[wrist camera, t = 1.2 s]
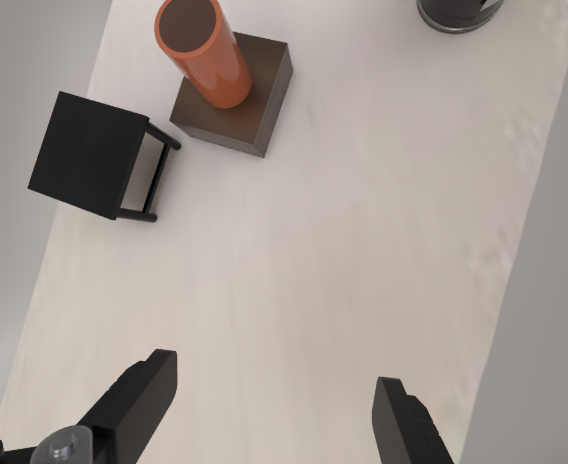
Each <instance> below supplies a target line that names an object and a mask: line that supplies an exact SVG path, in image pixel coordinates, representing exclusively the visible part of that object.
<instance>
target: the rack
mask: <svg viewBox="0 0 568 464" xmlns="http://www.w3.org/2000/svg"><path fill="white" fill-rule="evenodd" d="M149 119H150V118H149V117H147V116H145V115H141V114H138V113H134V112H131V111H127V110H124V109H120V108H117V107H113V106H110V105H107V104H103V103H100V102H96V101H93V100H89V99H86V98H82V97H79V96H75V95H72V94H68V93H65V92H62V91H59V94H58V97H57V100H56V103H55V106H54V109H53V112H52V115H51V118H50V121H49V124H48V127H47V130H46V133H45V136H44V139H43V142H42V145H41V149H40V152H39V154H38V157H37V160H36V163H35V166H34V169H33V172H32V176H31V179H30V182H29V185H28V189H30V190H33V191H36V192H38V193H41V194H44V195H46V196H49V197H52V198H54V199H57V200H60V201H62V202H65V203H68V204H70V205H73V206H76V207H78V208H81V209H84V210H86V211H89V212H92V213H94V214H97V215H100V216H102V217H105V218H108V219H110V220H116V218H124V219H131V220H139V221H146V222H155V221H156V220H157V216H156V215H155V214H152V213H149V210H150V207H151V204H152V201H153V198H154V195H155V192H156V189H157V186H158V183H159V180H160V177H161V174H162V171H163V168H164V165H165V162H166V159H167V156H168V153H169V150H170V147H171V148H172V149H174V150H179V149H180V148H181V144H180V143H179V142H178V141H176V140H175V139H174V138H172V137H171V136H169V135H168V134H166V133H165V132H163V131H162V130H160V129H159V128H157V127H156V126H154V125H153V124H151V123H150V122H149ZM145 132H146V133H148V134H150V135H151V136H153V137H154V138H156V139H158V140H159V141H161V142H163V143H164V147H163V150H162V153H161V156H160V159H159V162H158V165H157V168H156V171H155V174H154V177H153V180H152V183H151V186H150V189H149V192H148V195H147V198H146V201H145V204H144V207H143V210H142V211H136V210H131V209H125V208H120V206H121V203H122V200H123V197H124V194H125V191H126V188H127V185H128V182H129V179H130V176H131V173H132V170H133V167H134V164H135V161H136V158H137V155H138V152H139V149H140V146H141V143H142V140H143V137H144V134H145Z"/></svg>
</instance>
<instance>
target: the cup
mask: <svg viewBox="0 0 568 464" xmlns="http://www.w3.org/2000/svg"><path fill="white" fill-rule="evenodd" d="M154 31H155V37H156V40H157V43H158V45H159V47H160V48H161V49H162V50H163V52H164V53H165V54H166V55H167V56H168V57H169V58H170V60H171V61H172V62H173V63H174V64H175V65H176V66H177V68H178V69H179V70H180V71H181V72H182V73H183V75H184V76H185V77H186V78H187V79H188V80H189V81H190V83H191V84H192V85H193V86H194V87H195V88H196V90H197V91H198V92H199V93H200V94H201V95H202V96H203V98H204V99H205V100H206V101H207V102H208V103H209V104H210V105H212V106H214V107H216V108H221V109H227V108H231V107H234V106H236V105H238V104H239V103H241V102H242V101H243V100H244V99H245V98H246V96H247V95H248V93H249V91H250V89H251V85H252V74H251V71H250V69H249V66H248V64H247V62H246V60H245V58H244V56H243V54H242V51H241V49H240V47H239V45H238V43H237V41H236V39H235V37H234V34H233V32H232V30H231V28H230V26H229V24H228V22H227V19H226V17H225V15H224V13H223V11H222V9H221V7H220V5H219V3H218V1H217V0H166V1H165V2H164V3H163V5H162V6H161V8H160V9H159V11H158V14H157V16H156V20H155V26H154Z"/></svg>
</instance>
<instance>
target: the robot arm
mask: <svg viewBox="0 0 568 464" xmlns="http://www.w3.org/2000/svg"><path fill="white" fill-rule="evenodd" d="M503 1H504V0H417V3H418V8H419V11H420V13H421V15H422V17H423V18H424V20H425V21H426V22H427V23H428V24H430V25H431V26H432V27H434V28H436V29H438V30H441V31H444V32H449V33H461V32H467V31H470V30H473V29H476V28H478V27H480V26H482V25H483V24H485V23H486V22H487V21H489V20H490V19H491V18H492V17H493V16H494V15H495V13H496V12H497V11H498V9H499V8H500V6H501V5H502V3H503ZM176 390H177V353H176V351H171V350H163V349H156V350H155V351H154V352H153V353H152V354H151V355H150V356H149V358H148V359H147V360H146V361H139V362H137V363H136V364H134V365H132V366H131V367H129V368H128V369H126V370H125V372H124V373H123V374H122V375H121V376H120V377H119V378H118V379H117V382H115V383H114V384H113V385H112V386H111V387H110V388H109V390H108V391H106V392H105V393H104V395H103V396H102V397H101V398H100V399H99V400H98V401H97V402H96V403H95V404H94V406H93V407H92V408H91V409H90V410H89V411H88V412H87V413H86V414H85V415H84V417H83V418H82V419H81V420H80V421H79V422H78V423H77V424H76V425H74V426H69V427H65V428H63V429H60V430H58V431H56V432H54V433H53V434H51V435H50V436H48V437H47V438H45V439H44V440H43V441H42V442H41V443H40V444H39V445H38V446H36V447H30V448H24V449H18V450H11V451H5V452H4V448H3V443H2V441H1V440H0V464H136V463H137V461H138V459H139V457H140V456H141V454H142V452H143V451H144V449H145V447H146V446H147V444H148V442H149V440H150V439H151V437H152V435H153V434H154V432H155V430H156V429H157V427H158V425H159V423H160V422H161V420H162V418H163V417H164V415H165V413H166V411H167V410H168V408H169V406H170V405H171V403H172V401H173V399H174V397H175V394H176ZM372 425H373V430H374V434H375V438H376V442H377V446H378V450H379V454H380V458H381V462H382V464H454V463H453V461H452V459H451V457H450V455H449V453H448V451H447V449H446V447H445V445H444V443H443V441H442V439H441V437H440V436H439V433H438V430H437V428H436V426H435V424H433V420H432V418H431V416H430V414H429V412H428V410H427V408H426V407H425V406H424V405H423V404H422V403H421V402H420V401H419V400H418V399H417V398H416V396H412V395H407V394H406V391H405V389H404V387H403V385H402V382H401V380H400V379H396V378H387V377H378V380H377V385H376V390H375V396H374V402H373V408H372Z"/></svg>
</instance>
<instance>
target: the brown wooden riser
mask: <svg viewBox="0 0 568 464" xmlns="http://www.w3.org/2000/svg"><path fill="white" fill-rule="evenodd" d="M233 34H234V37H235V39H236V41H237V43H238V45H239V47H240V49H241V51H242V54H243V56H244V58H245V60H246V62H247V64H248V66H249V69H250V71H251V74H252V85H251V89H250V91H249V93H248V95H247V96H246V98H245V99H244V100H243V101H242V102H241V103H239V104H238V105H236V106H234V107H231V108H227V109H221V108H216V107H214V106H212V105H210V104H209V103H208V102H207V101H206V100H205V99H204V98H203V96H202V95H201V94H200V93H199V92H198V91H197V90H196V88H195V87H194V86H193V85H192V84H191V83H190V81H189V80H188V79H187V78H186V77H185V76H184V78H183V81H182V84H181V87H180V90H179V93H178V96H177V99H176V102H175V105H174V108H173V111H172V114H171V117H170V121H171V122H172V123H173V124H175V125H176V126H177V127H179V128H180V129H181V130H183V131H184V132H185V133H186V134H188V135H189V136H191V137H194V138H198V139H201V140H204V141H208V142H211V143H215V144H218V145H221V146H225V147H228V148H232V149H235V150H238V151H242V152H245V153H248V154H252V155H256V156H259V157H262V158H264V155H265V152H266V150H267V147H268V144H269V141H270V138H271V135H272V132H273V129H274V126H275V123H276V120H277V117H278V114H279V111H280V108H281V105H282V102H283V99H284V96H285V93H286V90H287V87H288V84H289V81H290V78H291V75H292V72H293V67H292V62H291V58H290V54H289V49H288V45H287V43H284V42H279V41H275V40H270V39H265V38H261V37H256V36H251V35H247V34H242V33H237V32H233Z"/></svg>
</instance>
